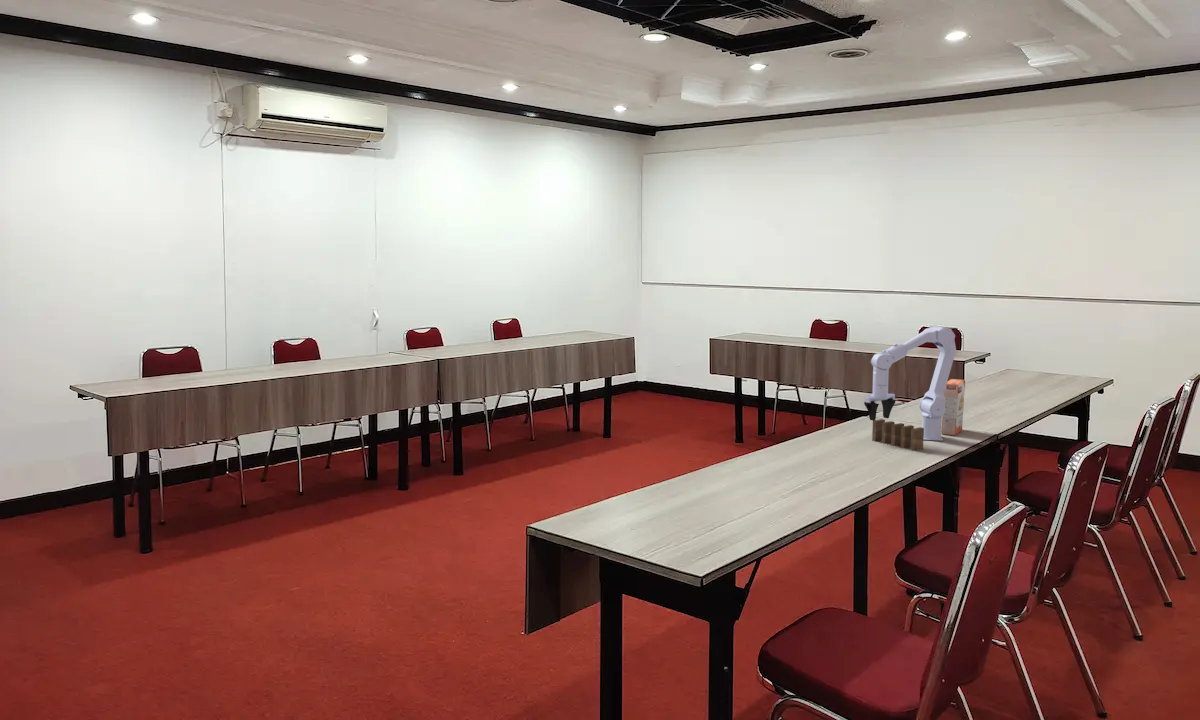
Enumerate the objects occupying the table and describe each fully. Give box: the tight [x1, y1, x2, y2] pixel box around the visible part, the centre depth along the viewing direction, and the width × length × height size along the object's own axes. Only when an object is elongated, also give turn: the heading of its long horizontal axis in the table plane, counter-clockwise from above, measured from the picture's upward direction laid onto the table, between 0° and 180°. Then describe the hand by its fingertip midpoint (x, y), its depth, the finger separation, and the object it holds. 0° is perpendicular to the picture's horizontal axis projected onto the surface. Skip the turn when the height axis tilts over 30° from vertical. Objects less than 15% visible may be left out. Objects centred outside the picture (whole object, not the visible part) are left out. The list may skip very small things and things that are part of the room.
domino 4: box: [900, 424, 915, 449], centre depth 319 cm, size 2×5×8 cm, turn 121°
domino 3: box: [890, 422, 905, 447], centre depth 323 cm, size 2×5×8 cm, turn 121°
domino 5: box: [910, 426, 924, 452], centre depth 315 cm, size 2×5×8 cm, turn 121°
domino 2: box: [881, 420, 896, 444], centre depth 327 cm, size 2×5×8 cm, turn 121°
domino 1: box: [871, 418, 886, 442], centre depth 331 cm, size 2×5×8 cm, turn 120°
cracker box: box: [941, 378, 966, 436], centre depth 343 cm, size 14×6×21 cm, turn 147°
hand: (879, 419), depth 330 cm, fingers open, 7 cm apart
